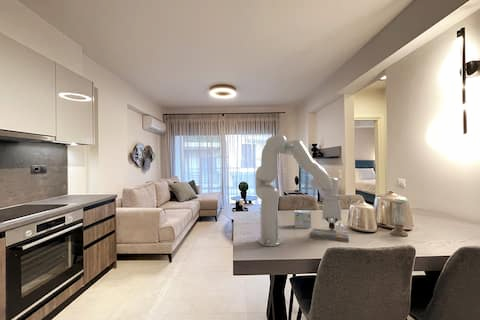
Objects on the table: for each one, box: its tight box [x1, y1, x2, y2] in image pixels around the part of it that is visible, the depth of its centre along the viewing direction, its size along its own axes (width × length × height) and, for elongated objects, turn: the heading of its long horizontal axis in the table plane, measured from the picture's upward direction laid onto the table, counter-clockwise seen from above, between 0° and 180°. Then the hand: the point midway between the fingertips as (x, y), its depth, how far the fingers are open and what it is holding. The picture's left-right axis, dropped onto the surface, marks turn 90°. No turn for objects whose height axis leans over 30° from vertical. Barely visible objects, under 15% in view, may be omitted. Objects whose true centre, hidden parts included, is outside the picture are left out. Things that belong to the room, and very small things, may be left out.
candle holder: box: [389, 199, 409, 237], centre depth 137 cm, size 9×9×20 cm
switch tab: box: [335, 222, 345, 234], centre depth 132 cm, size 4×4×6 cm
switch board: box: [310, 227, 350, 243], centre depth 134 cm, size 12×20×3 cm, turn 66°
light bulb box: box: [293, 209, 312, 229], centre depth 155 cm, size 11×7×11 cm, turn 84°
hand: (331, 229), depth 134 cm, fingers closed
